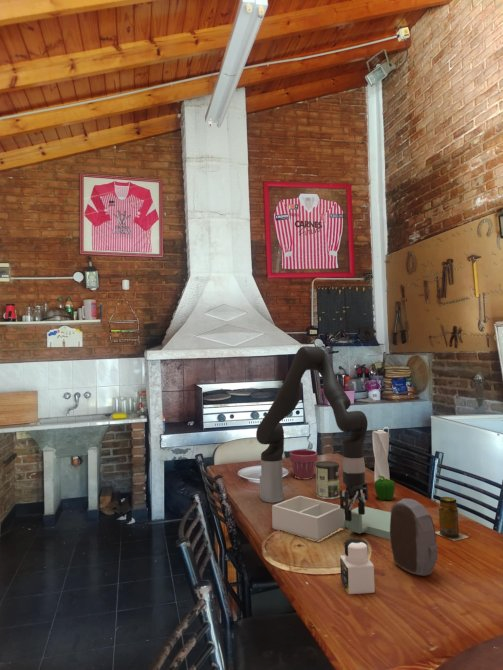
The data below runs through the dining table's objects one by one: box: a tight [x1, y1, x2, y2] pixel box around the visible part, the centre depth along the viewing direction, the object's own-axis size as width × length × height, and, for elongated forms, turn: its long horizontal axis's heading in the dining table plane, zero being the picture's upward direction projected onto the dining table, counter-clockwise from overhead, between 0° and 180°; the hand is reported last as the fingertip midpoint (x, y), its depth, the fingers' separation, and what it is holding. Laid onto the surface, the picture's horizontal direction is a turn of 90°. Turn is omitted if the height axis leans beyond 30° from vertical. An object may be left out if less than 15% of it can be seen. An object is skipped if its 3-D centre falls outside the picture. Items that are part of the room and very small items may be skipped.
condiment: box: [435, 496, 469, 542], centre depth 157 cm, size 7×8×12 cm
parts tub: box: [271, 495, 346, 541], centre depth 165 cm, size 20×16×8 cm
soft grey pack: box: [390, 497, 438, 577], centre depth 132 cm, size 15×8×20 cm, turn 23°
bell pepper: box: [374, 476, 396, 501], centre depth 197 cm, size 8×8×10 cm
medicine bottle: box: [339, 538, 375, 595], centre depth 123 cm, size 7×7×12 cm
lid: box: [344, 506, 391, 541], centre depth 165 cm, size 22×23×8 cm
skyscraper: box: [372, 426, 391, 482], centre depth 215 cm, size 8×8×28 cm
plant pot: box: [289, 449, 318, 478], centre depth 235 cm, size 14×14×13 cm
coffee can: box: [315, 460, 340, 500], centre depth 203 cm, size 10×10×14 cm
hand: (355, 517), depth 158 cm, fingers open, 8 cm apart
